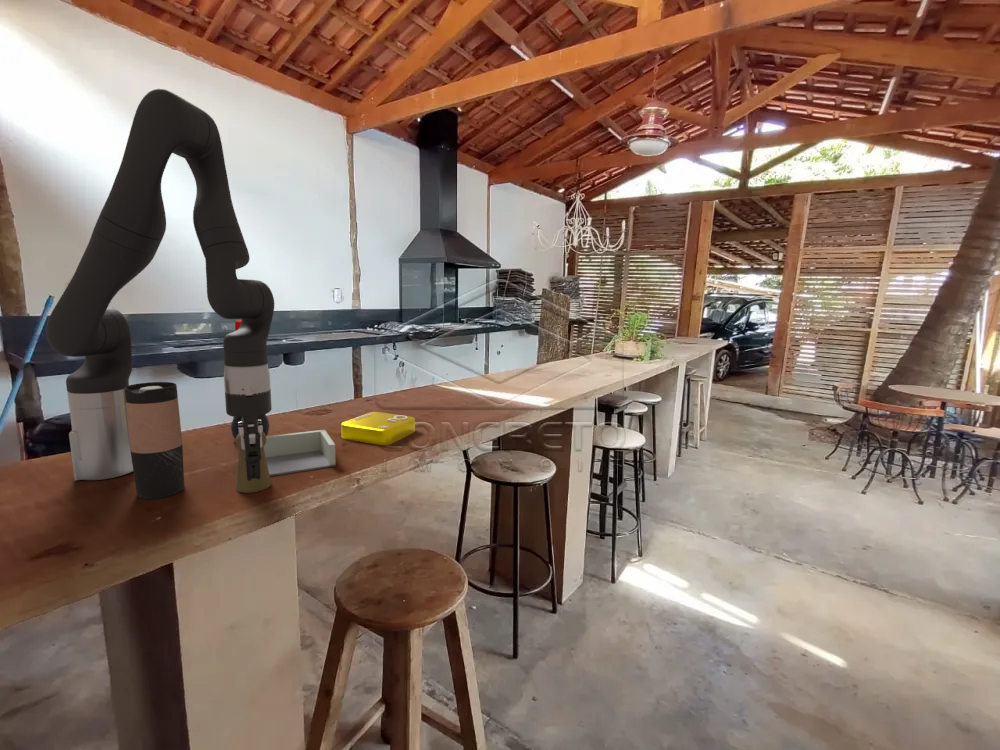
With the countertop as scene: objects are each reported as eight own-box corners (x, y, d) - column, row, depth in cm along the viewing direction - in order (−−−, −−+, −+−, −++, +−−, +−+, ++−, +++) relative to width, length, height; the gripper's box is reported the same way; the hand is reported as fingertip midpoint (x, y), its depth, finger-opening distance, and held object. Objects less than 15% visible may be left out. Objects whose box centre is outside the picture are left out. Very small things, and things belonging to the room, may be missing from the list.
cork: (256, 494, 85) (253, 437, 83) (228, 490, 86) (224, 434, 85) (278, 481, 91) (275, 428, 89) (251, 478, 92) (248, 425, 90)
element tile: (372, 425, 134) (372, 409, 133) (417, 432, 129) (417, 415, 128) (337, 439, 120) (337, 421, 119) (387, 447, 115) (386, 429, 114)
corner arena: (263, 477, 93) (262, 453, 92) (259, 458, 103) (258, 437, 102) (335, 466, 100) (335, 444, 99) (325, 449, 110) (324, 429, 110)
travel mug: (178, 479, 91) (169, 380, 87) (192, 490, 86) (183, 386, 83) (130, 491, 85) (118, 385, 81) (141, 503, 80) (130, 392, 77)
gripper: (224, 382, 90) (230, 466, 93) (224, 397, 78) (231, 493, 81) (267, 380, 93) (271, 460, 96) (273, 394, 81) (278, 485, 84)
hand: (253, 474), depth 88 cm, fingers closed on cork, 4 cm apart
